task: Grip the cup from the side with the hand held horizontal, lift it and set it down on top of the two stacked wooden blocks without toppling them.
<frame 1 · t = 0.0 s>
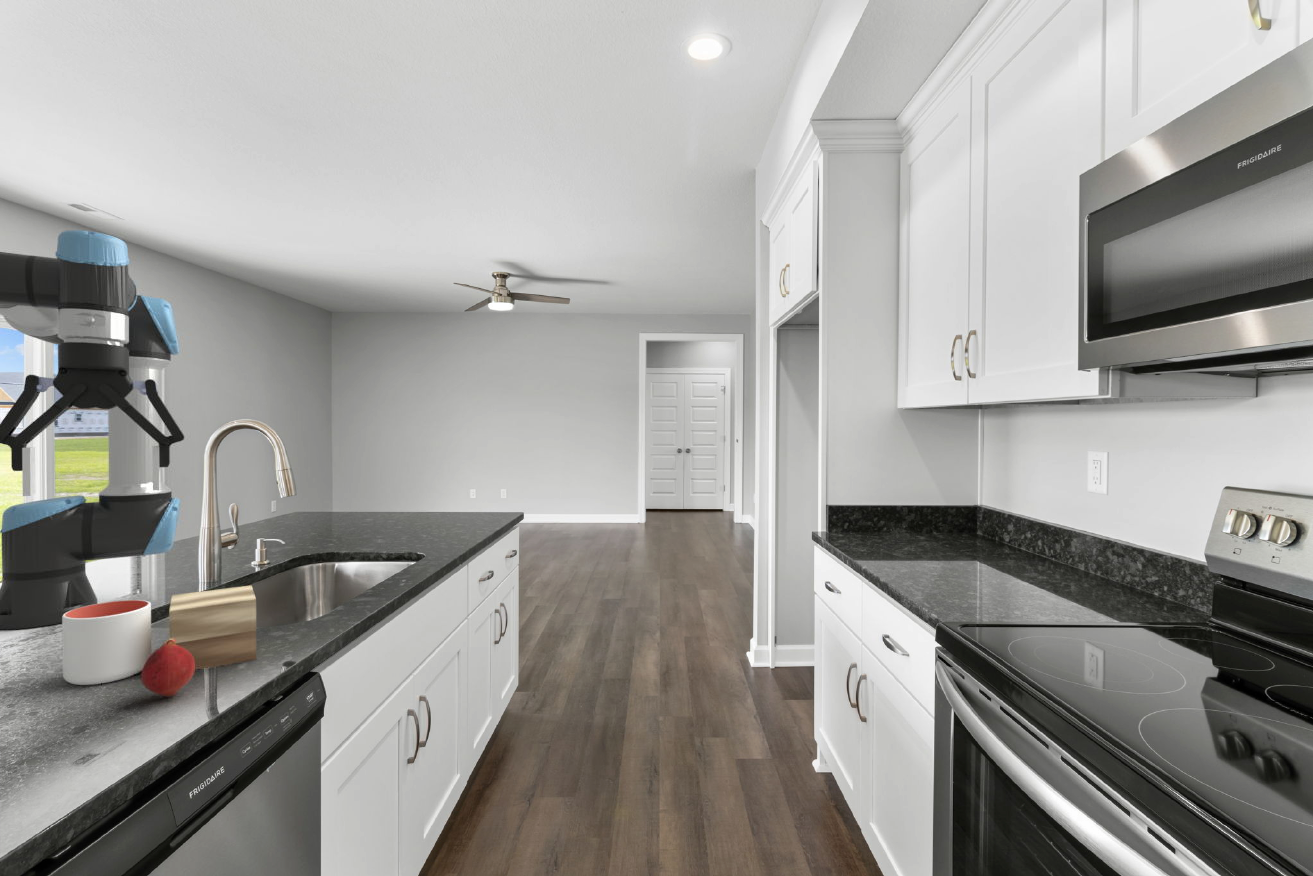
hand: (95, 492, 89), 28 cm above the counter, tool pointing down, fingers open, 13 cm apart
block bottom: (214, 658, 101), on the counter, touching block top
cup: (108, 676, 94), on the counter
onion: (169, 698, 86), on the counter
block top: (213, 627, 101), point 5 cm above the counter, touching block bottom
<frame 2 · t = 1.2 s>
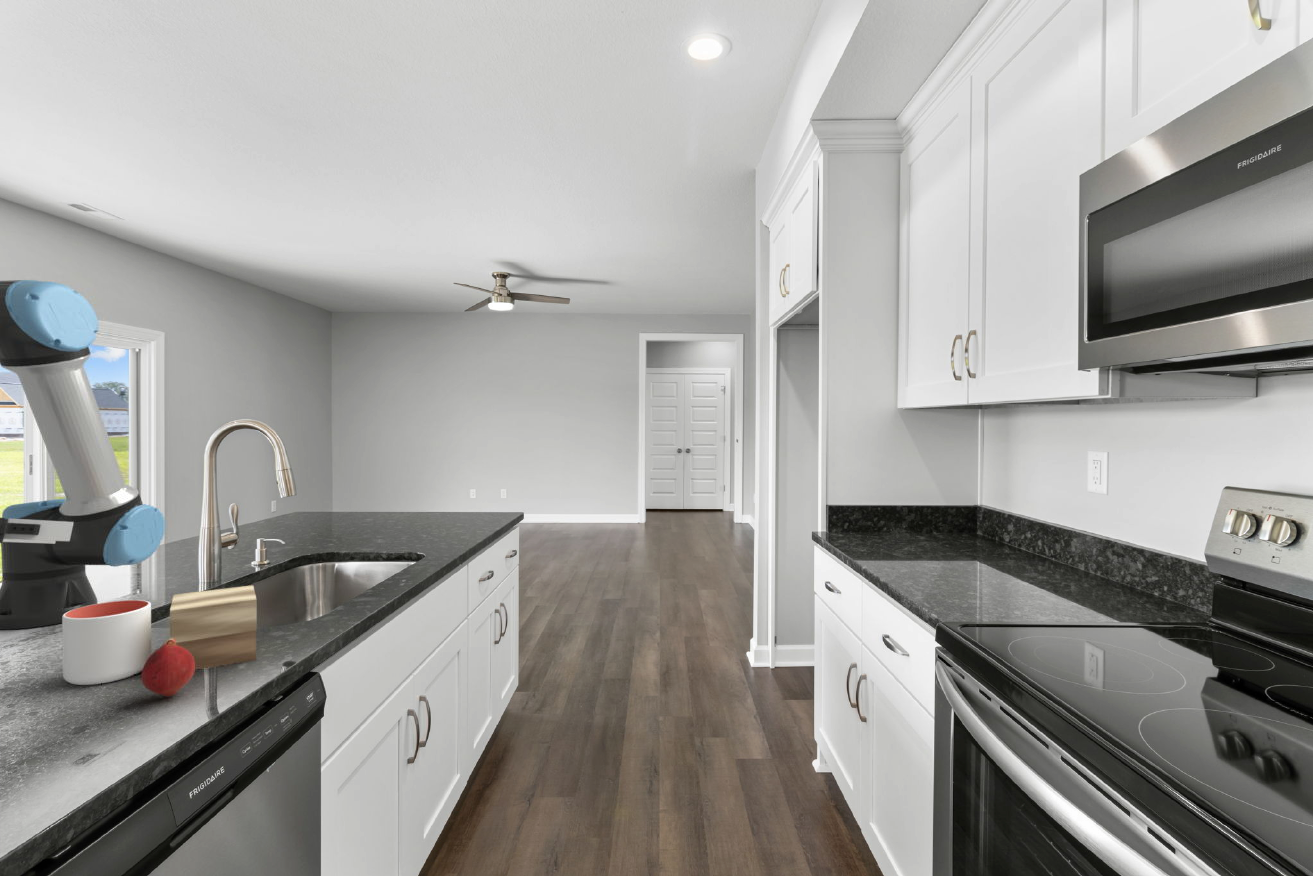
hand: (64, 533, 92), 21 cm above the counter, tool horizontal, fingers open, 13 cm apart
nothing on the counter moved.
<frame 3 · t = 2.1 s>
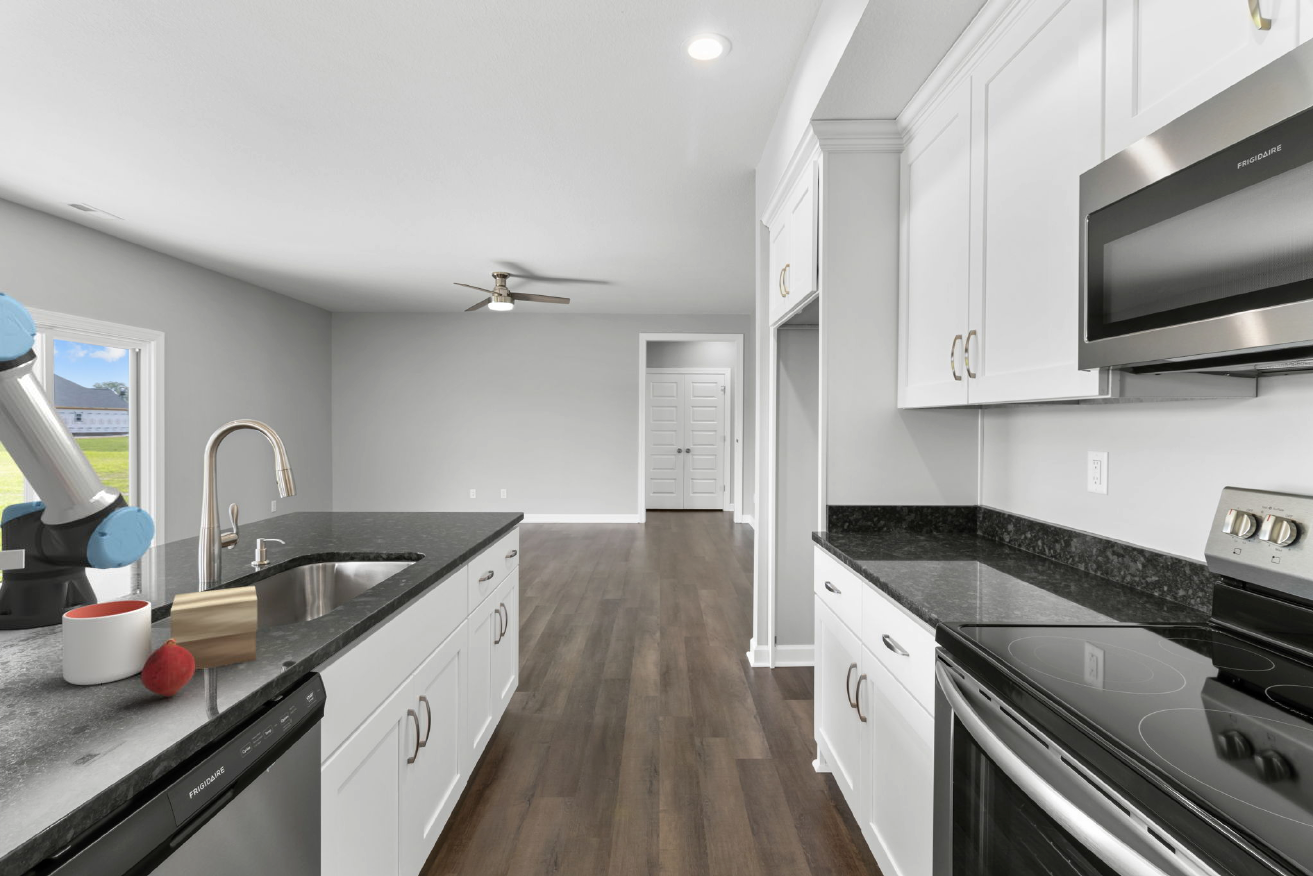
hand: (12, 566, 87), 18 cm above the counter, tool horizontal, fingers open, 13 cm apart
nothing on the counter moved.
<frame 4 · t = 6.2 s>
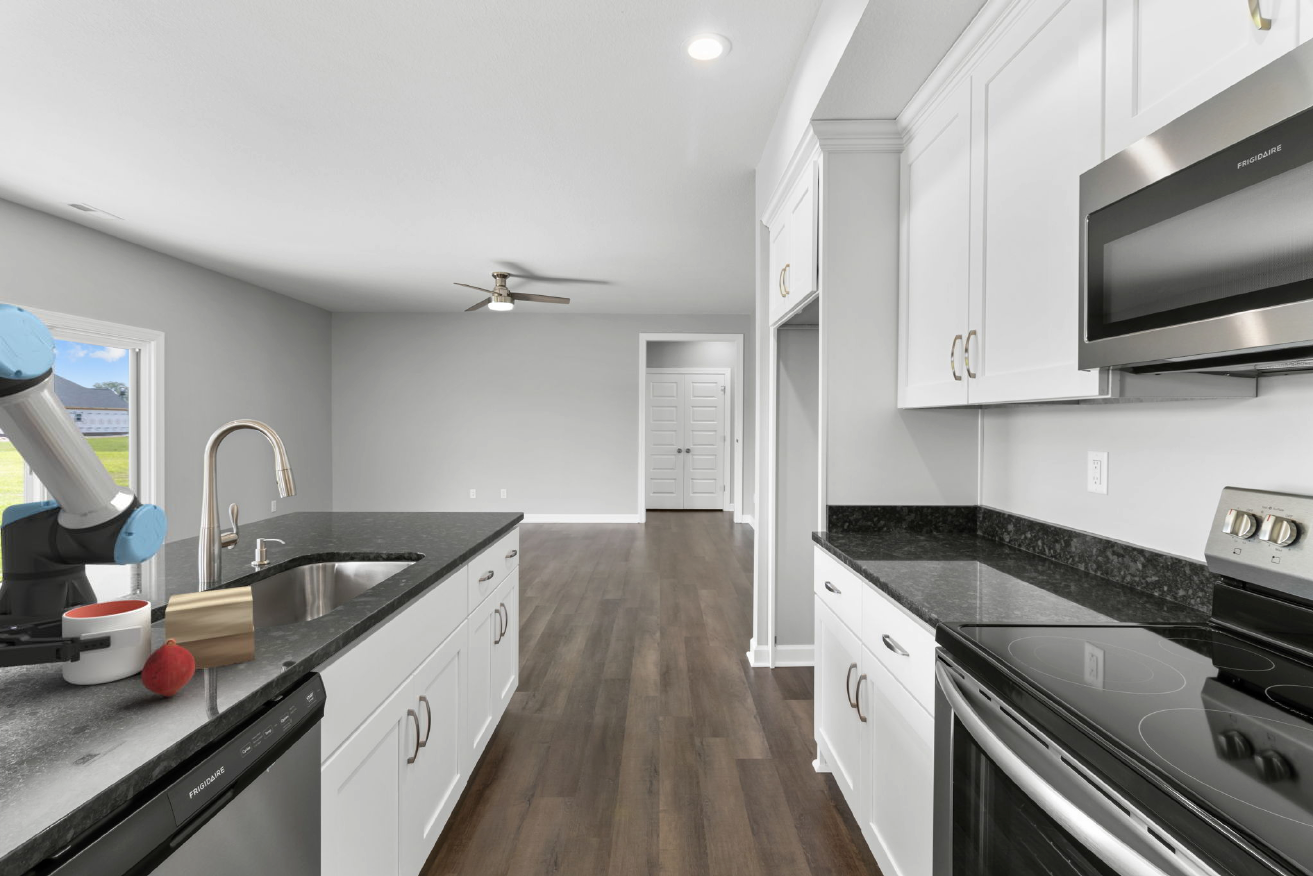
hand: (144, 626, 96), 7 cm above the counter, tool horizontal, fingers closed on cup, 10 cm apart
cup: (108, 675, 94), on the counter, touching gripper
everything else where it was.
when the fingers open (18 cm above the counter, at t = 10.8 s): cup drops 2 cm, resting on block top.
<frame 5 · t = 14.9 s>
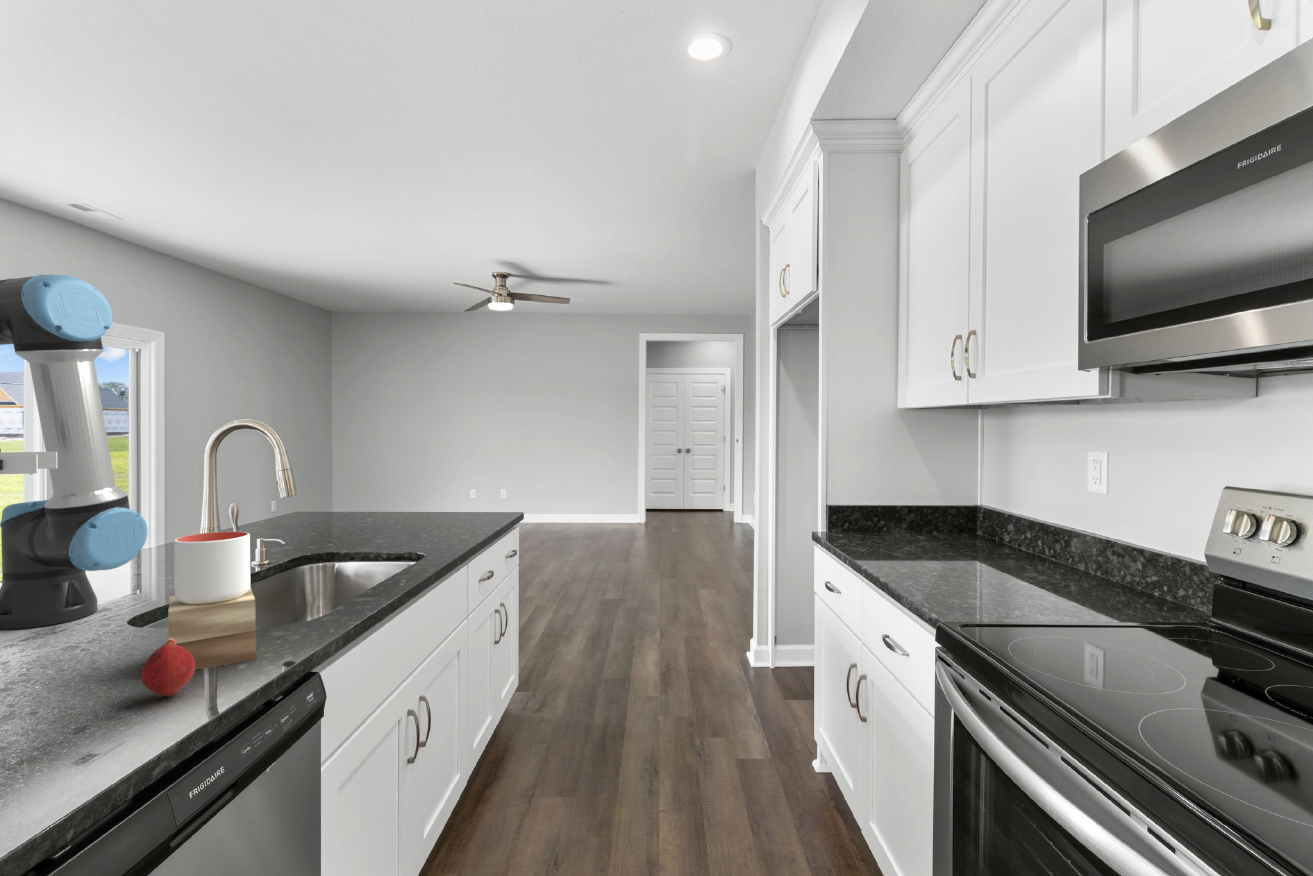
hand: (47, 461, 95), 32 cm above the counter, tool horizontal, fingers open, 13 cm apart
cup: (213, 599, 101), point 9 cm above the counter, touching block top
block top: (212, 628, 101), point 5 cm above the counter, touching block bottom, cup
everything else where it was.
at the end: cup inside the target area on the block top (0.4 cm from its centre), point 4.8 cm above the block top's base; block top tilted 0°; the gripper is holding nothing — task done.
